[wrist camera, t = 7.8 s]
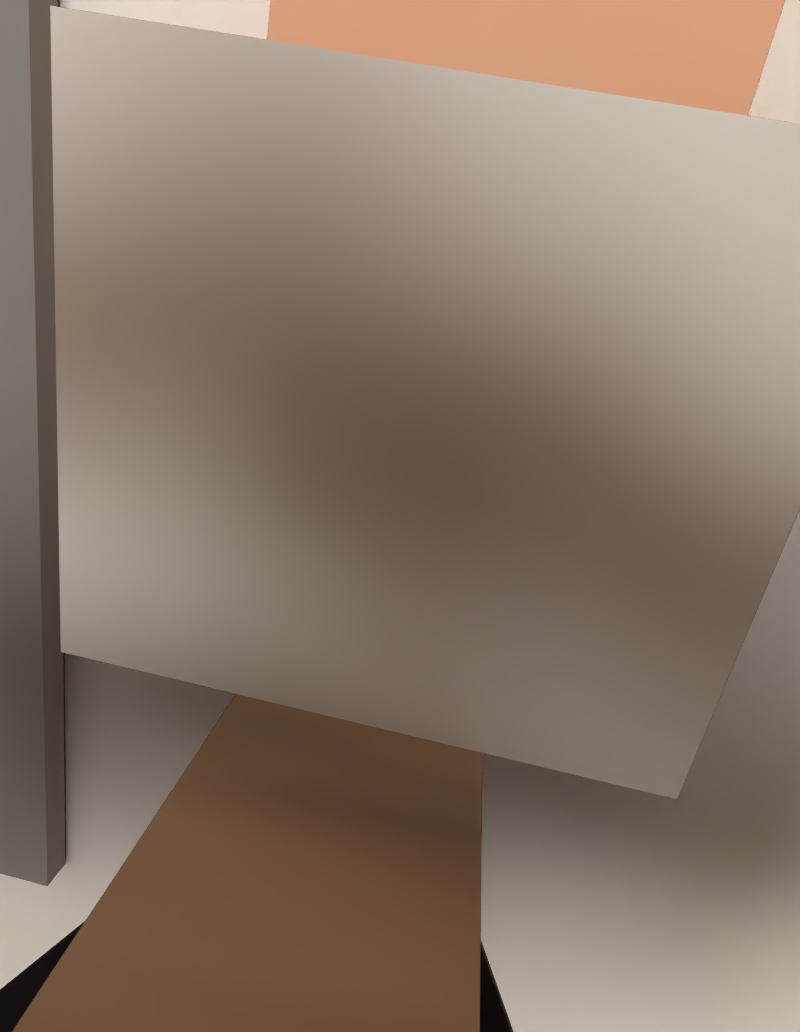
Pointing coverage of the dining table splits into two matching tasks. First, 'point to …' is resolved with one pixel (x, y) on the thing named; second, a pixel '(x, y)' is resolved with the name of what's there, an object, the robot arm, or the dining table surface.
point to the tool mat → (29, 459)
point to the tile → (558, 41)
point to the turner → (395, 485)
